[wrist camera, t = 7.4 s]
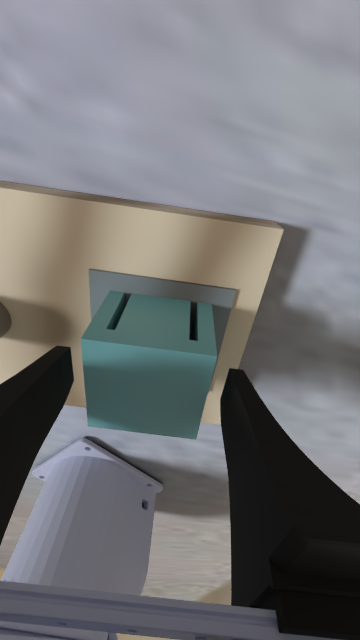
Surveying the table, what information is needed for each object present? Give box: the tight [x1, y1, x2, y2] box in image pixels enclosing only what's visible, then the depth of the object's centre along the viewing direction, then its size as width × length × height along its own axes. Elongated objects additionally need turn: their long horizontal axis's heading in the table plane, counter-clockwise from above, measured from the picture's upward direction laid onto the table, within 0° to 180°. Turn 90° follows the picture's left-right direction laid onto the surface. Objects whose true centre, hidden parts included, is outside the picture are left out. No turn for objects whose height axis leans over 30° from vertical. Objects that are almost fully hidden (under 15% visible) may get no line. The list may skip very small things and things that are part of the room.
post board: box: [0, 181, 284, 424], centre depth 14 cm, size 19×13×4 cm
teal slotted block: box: [81, 290, 217, 439], centre depth 13 cm, size 5×5×4 cm
